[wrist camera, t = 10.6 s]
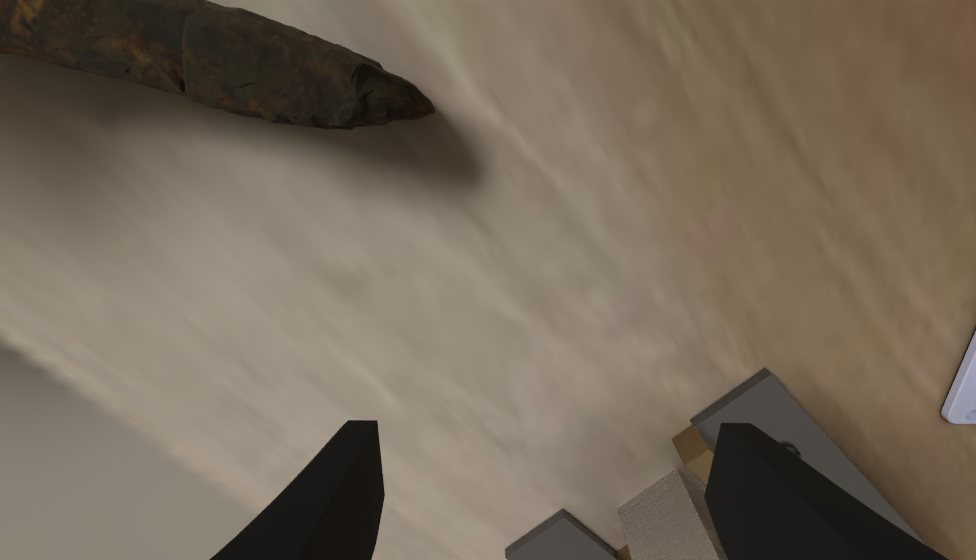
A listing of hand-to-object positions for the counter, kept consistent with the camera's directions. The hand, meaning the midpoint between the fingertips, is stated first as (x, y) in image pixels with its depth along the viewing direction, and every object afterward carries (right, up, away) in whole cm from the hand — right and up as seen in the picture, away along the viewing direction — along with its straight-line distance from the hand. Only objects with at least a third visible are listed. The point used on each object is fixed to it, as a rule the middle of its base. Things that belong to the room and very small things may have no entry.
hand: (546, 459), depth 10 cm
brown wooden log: (-12, +12, +6) cm, 18 cm away
